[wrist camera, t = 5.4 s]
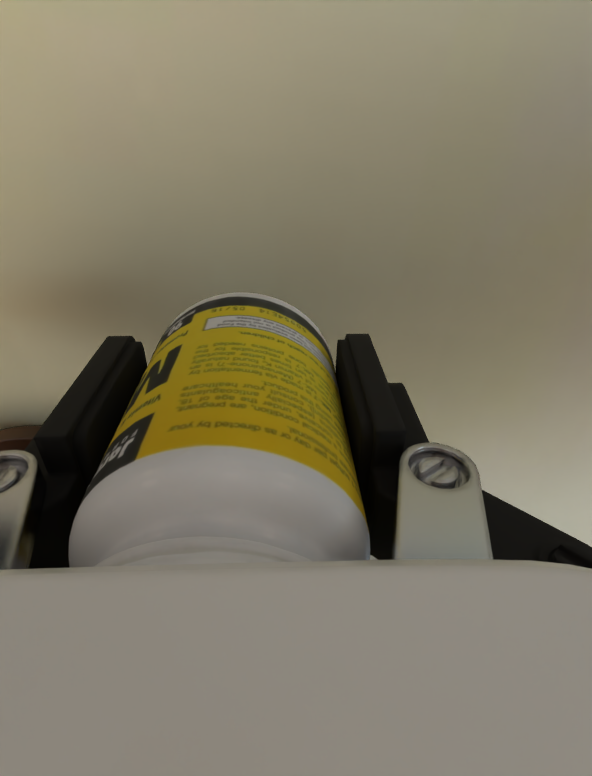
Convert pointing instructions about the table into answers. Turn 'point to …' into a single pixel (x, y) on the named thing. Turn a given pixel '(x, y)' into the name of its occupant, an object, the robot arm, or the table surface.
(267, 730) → the robot arm
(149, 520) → the supplement bottle
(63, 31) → the table surface
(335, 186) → the table surface
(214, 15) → the table surface
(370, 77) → the table surface
